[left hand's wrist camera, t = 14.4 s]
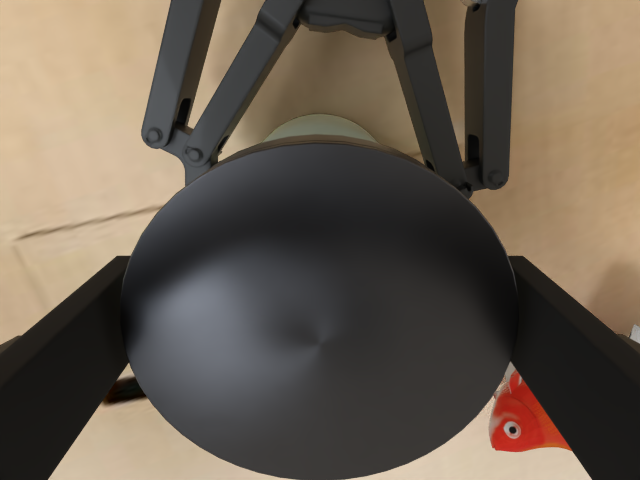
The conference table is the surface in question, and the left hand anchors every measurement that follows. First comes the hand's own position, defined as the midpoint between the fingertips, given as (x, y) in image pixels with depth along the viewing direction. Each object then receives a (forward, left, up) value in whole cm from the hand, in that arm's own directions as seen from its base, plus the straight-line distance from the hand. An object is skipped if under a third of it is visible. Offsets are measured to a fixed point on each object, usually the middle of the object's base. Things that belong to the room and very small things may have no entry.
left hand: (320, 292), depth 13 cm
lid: (0, 0, +2) cm, 2 cm away
